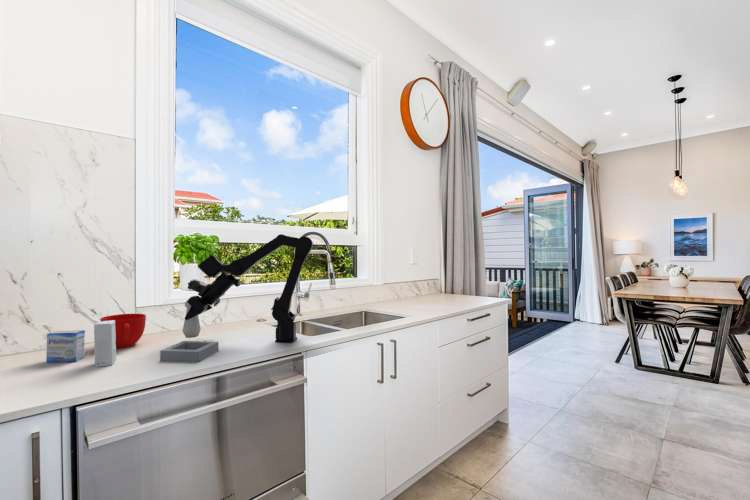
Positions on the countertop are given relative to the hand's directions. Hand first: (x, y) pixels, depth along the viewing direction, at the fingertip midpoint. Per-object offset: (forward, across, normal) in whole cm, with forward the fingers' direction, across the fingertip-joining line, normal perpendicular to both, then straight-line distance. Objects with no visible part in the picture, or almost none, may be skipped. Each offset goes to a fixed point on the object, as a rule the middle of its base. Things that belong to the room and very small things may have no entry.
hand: (187, 318), depth 134 cm
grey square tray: (+1, +17, +11) cm, 21 cm away
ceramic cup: (+20, +5, -7) cm, 21 cm away
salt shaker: (+4, 0, +6) cm, 7 cm away
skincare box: (+16, +24, -4) cm, 29 cm away
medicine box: (+26, +19, -14) cm, 35 cm away
